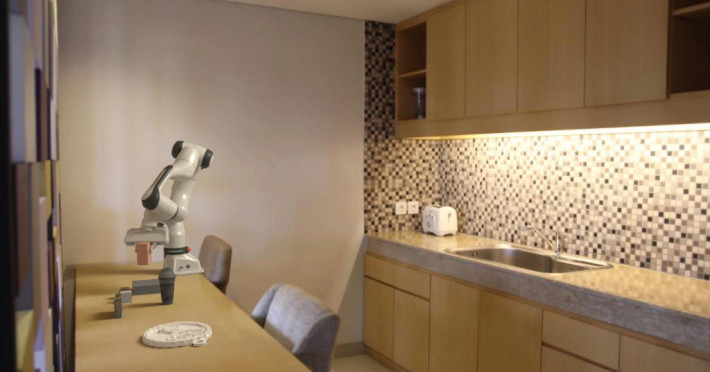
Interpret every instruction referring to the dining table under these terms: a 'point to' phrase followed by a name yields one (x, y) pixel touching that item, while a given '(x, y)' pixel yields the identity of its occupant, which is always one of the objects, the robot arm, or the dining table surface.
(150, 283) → the block
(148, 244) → the terracotta block
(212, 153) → the robot arm
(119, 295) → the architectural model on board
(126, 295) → the grey plastic block
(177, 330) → the medallion
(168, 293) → the beverage cup
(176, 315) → the dining table surface
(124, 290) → the walnut block
